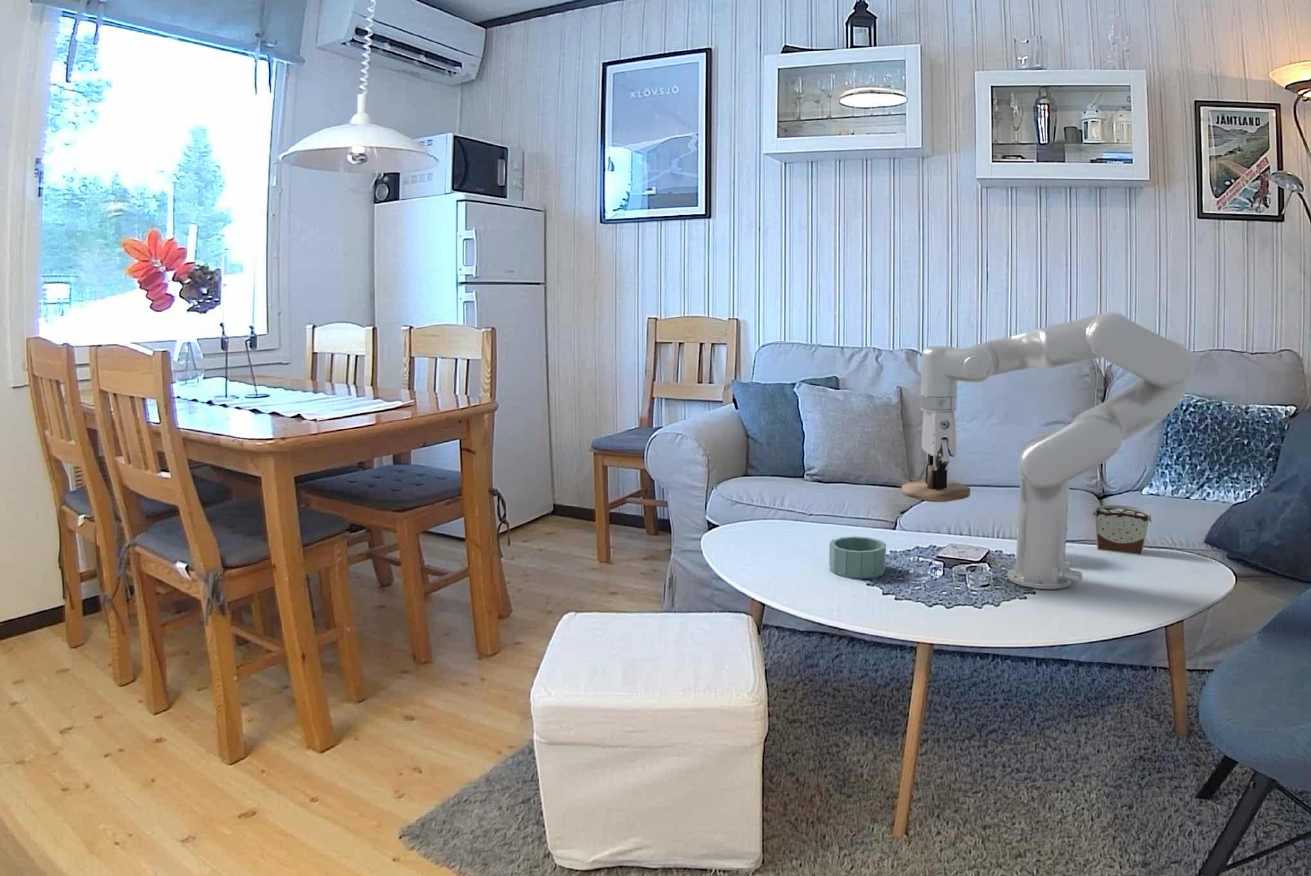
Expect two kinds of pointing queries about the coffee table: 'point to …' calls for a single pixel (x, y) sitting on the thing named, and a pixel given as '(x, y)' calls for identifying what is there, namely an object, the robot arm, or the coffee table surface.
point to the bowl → (857, 557)
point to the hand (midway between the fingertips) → (935, 485)
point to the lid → (935, 490)
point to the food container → (1121, 528)
